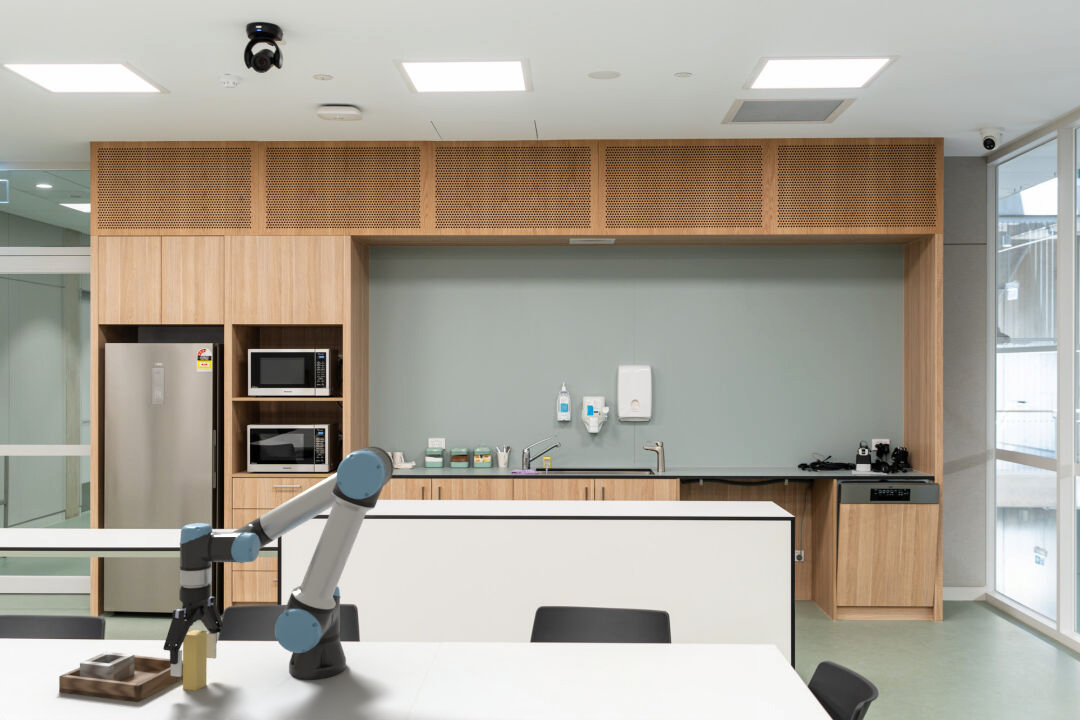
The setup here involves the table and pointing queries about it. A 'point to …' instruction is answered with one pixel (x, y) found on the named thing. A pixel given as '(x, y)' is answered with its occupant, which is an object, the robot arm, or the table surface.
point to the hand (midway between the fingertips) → (194, 666)
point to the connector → (194, 660)
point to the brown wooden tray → (119, 677)
